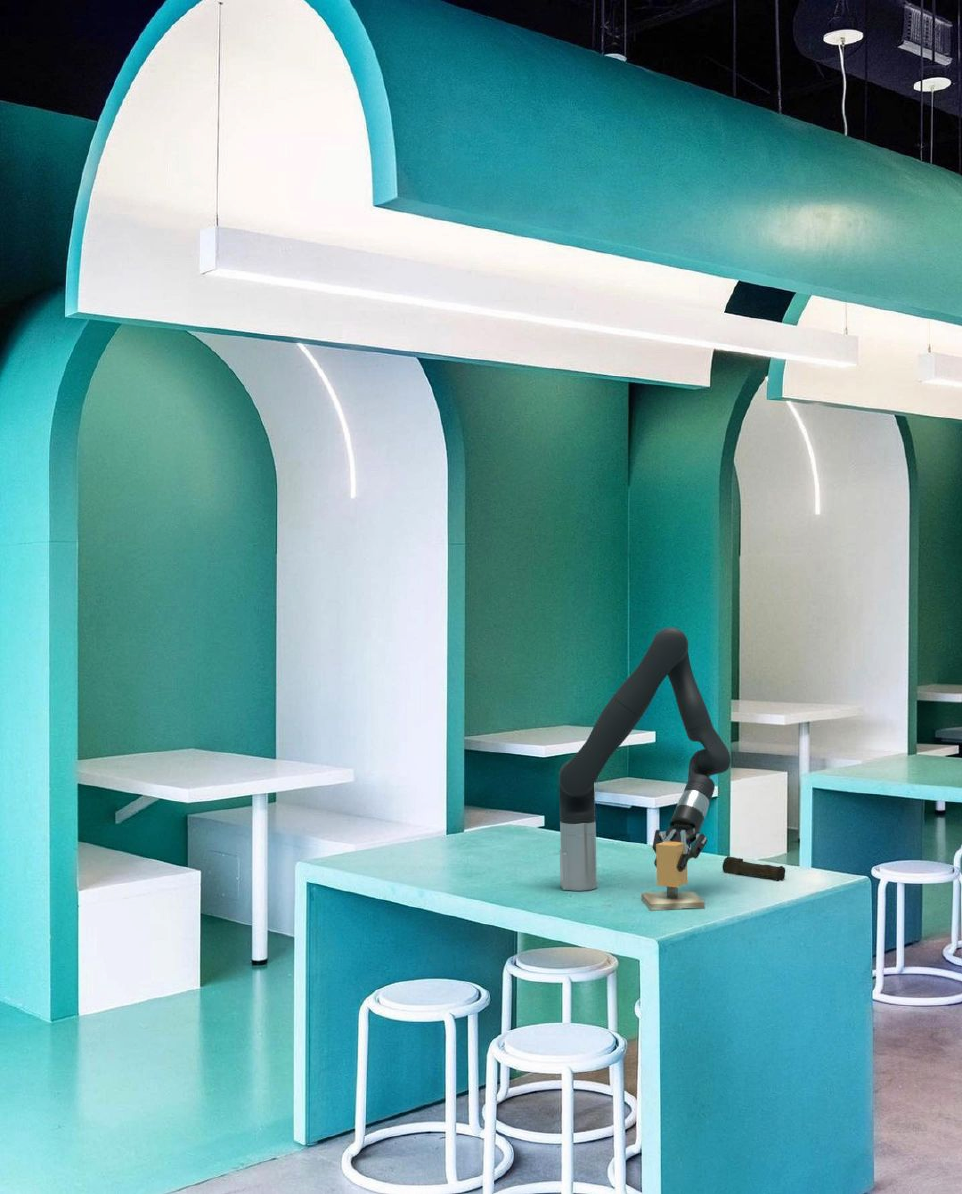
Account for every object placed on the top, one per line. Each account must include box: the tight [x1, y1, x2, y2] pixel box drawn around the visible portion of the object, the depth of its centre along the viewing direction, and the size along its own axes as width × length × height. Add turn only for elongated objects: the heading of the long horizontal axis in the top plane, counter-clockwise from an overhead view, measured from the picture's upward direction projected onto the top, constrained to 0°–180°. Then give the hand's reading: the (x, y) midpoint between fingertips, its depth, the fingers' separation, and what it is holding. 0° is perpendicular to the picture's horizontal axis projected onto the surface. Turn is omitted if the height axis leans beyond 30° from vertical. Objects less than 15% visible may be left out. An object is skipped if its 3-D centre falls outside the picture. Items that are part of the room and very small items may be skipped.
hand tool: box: [722, 856, 786, 882], centre depth 370 cm, size 19×4×5 cm, turn 42°
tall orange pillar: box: [655, 841, 689, 888], centre depth 338 cm, size 5×5×10 cm
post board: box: [641, 886, 706, 911], centre depth 338 cm, size 13×13×8 cm
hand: (668, 868), depth 336 cm, fingers closed on tall orange pillar, 5 cm apart
